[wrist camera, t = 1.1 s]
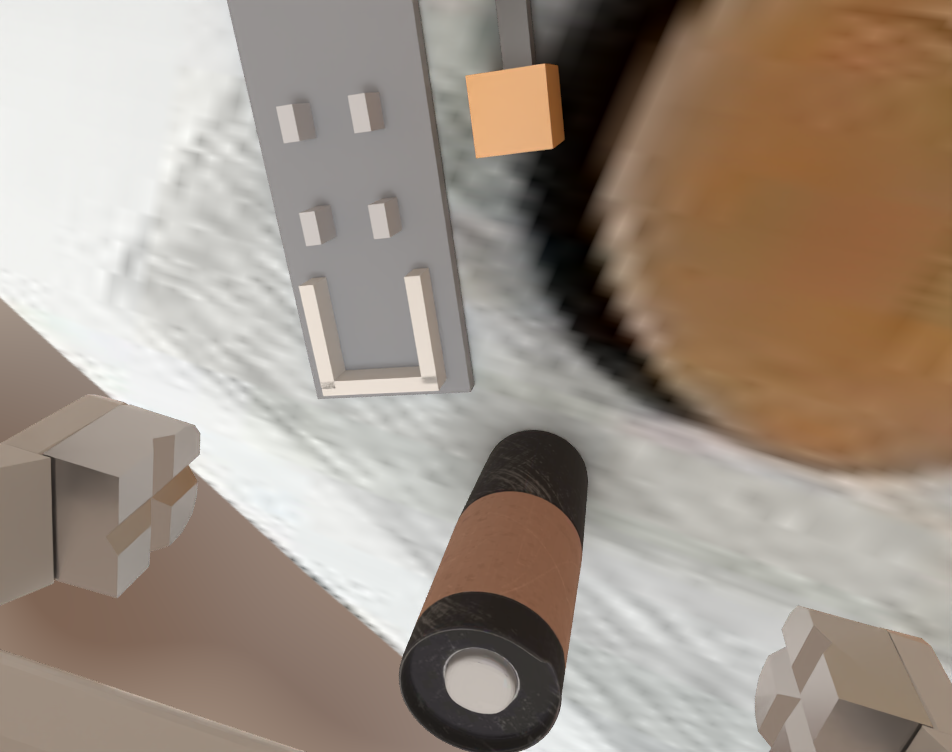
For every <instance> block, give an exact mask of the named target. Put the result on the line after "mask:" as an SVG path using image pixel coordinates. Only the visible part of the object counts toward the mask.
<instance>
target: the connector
mask: <svg viewBox="0 0 952 752" xmlns="http://www.w3.org/2000/svg"><path fill="white" fill-rule="evenodd" d="M495 1H496V10H497V19H498V27H499V36H500V45H501V54H502V63H503V70H499V71H493V72H486V73H480V74H473V75H467V76H466V84H467V91H468V99H469V107H470V114H471V122H472V130H473V137H474V145H475V153H476V158H483V157H491V156H499V155H507V154H514V153H522V152H530V151H538V150H546V149H553V148H554V147H556V146H557V145H558V144H560V143H561V142H562V141H564V140H565V137H564V126H563V115H562V104H561V92H560V81H559V70H558V65H552V64H545V63H544V64H538V65H537V64H536V54H535V44H534V34H533V24H532V14H531V4H530V0H495Z"/></svg>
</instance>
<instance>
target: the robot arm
mask: <svg viewBox="0 0 952 752" xmlns="http://www.w3.org/2000/svg"><path fill="white" fill-rule="evenodd" d="M199 455H200V432H199V431H198V429H197V428H196V426H195V425H193V424H190V423H186V422H183V421H180V420H177V419H174V418H171V417H168V416H165V415H161V414H158V413H155V412H152V411H149V410H146V409H143V408H140V407H136V406H133V405H128V404H126V403H124V402H121V401H117V400H114V399H110V398H107V397H103V396H100V395H89V394H87V395H85V396H83V397H82V398H80V399H78V400H76V401H74V402H73V403H71V404H69V405H67V406H66V407H64V408H62V409H60V410H59V411H57V412H55V413H54V414H51V415H50V416H48V417H46V418H45V419H43V420H41V421H39V422H37V423H36V424H34V425H32V426H30V427H28V428H27V429H25V430H23V431H22V432H20V433H18V434H16V435H14V436H13V437H11V438H9V439H7V440H6V441H4V442H2V443H1V442H0V606H1V605H3V604H5V603H8V602H10V601H13V600H15V599H18V598H20V597H22V596H25V595H27V594H29V593H32V592H34V591H37V590H39V589H42V588H44V587H46V586H49V585H51V584H53V583H54V580H56V581H60V582H63V583H67V584H70V585H74V586H77V587H80V588H84V589H87V590H91V591H94V592H98V593H101V594H104V595H108V596H111V597H115V598H118V597H119V596H120V595H121V594H122V593H123V592H124V591H125V590H126V589H127V587H129V586H130V585H131V584H132V583H133V582H134V581H135V580H136V579H137V577H139V576H140V575H141V574H142V573H143V572H144V571H145V570H146V569H147V568H148V567H149V559H150V552H152V551H155V550H158V549H161V548H164V547H167V546H170V545H171V544H172V542H173V541H174V540H175V539H176V538H177V537H178V536H179V535H180V534H181V533H182V531H183V529H184V528H185V525H186V524H187V522H188V520H189V518H190V516H191V515H192V512H193V508H194V505H195V501H196V497H197V485H198V482H197V480H196V478H195V476H194V474H193V473H192V471H191V469H190V467H189V464H190V463H191V462H192V461H193V460H194V459H195V458H196V457H197V456H199ZM782 633H783V637H784V640H785V644H786V647H784V648H782V649H780V650H778V651H776V652H775V653H773V654H771V655H769V656H768V657H767V660H766V662H765V664H764V666H763V668H762V671H761V673H760V675H759V679H758V684H757V689H756V694H755V717H756V722H757V728H758V732H759V733H760V734H761V735H762V736H763V738H764V739H765V740H766V741H767V743H768V744H769V745H770V746H771V747H772V748H771V750H770V752H952V684H951V682H950V680H949V678H948V676H947V674H946V673H945V671H944V669H943V667H942V665H941V663H940V661H939V660H938V658H937V656H936V654H935V652H934V650H933V649H932V647H931V646H930V645H929V644H928V643H927V642H925V641H924V640H923V639H922V638H918V637H915V636H911V635H907V634H903V633H899V632H895V631H892V630H888V629H884V628H878V627H874V626H871V625H867V624H863V623H860V622H856V621H853V620H849V619H845V618H842V617H838V616H835V615H831V614H827V613H824V612H820V611H816V610H813V609H809V608H806V607H802V606H797V607H796V608H795V609H794V610H793V611H792V612H791V613H790V614H789V616H788V618H787V620H786V622H785V624H784V626H783V627H782ZM0 752H305V751H302V750H299V749H296V748H293V747H290V746H287V745H284V744H280V743H278V742H275V741H272V740H269V739H266V738H263V737H260V736H256V735H254V734H251V733H248V732H245V731H242V730H239V729H236V728H233V727H230V726H227V725H224V724H221V723H218V722H215V721H212V720H209V719H206V718H203V717H200V716H197V715H194V714H191V713H188V712H186V711H182V710H179V709H177V708H174V707H170V706H167V705H164V704H162V703H159V702H156V701H153V700H149V699H147V698H144V697H141V696H138V695H135V694H132V693H129V692H126V691H123V690H120V689H117V688H114V687H111V686H108V685H105V684H102V683H99V682H96V681H93V680H90V679H87V678H84V677H81V676H79V675H76V674H72V673H69V672H66V671H63V670H61V669H58V668H55V667H52V666H49V665H46V664H43V663H40V662H37V661H34V660H31V659H28V658H25V657H22V656H19V655H16V654H13V653H10V652H7V651H4V650H1V649H0Z"/></svg>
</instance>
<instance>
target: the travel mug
mask: <svg viewBox="0 0 952 752" xmlns="http://www.w3.org/2000/svg"><path fill="white" fill-rule="evenodd" d="M587 486H588V478H587V471H586V467H585V464H584V462H583V460H582V458H581V456H580V455H579V453H578V452H577V451H576V449H575V448H574V447H573V446H572V445H570V444H569V443H568V442H567V441H565V440H564V439H562V438H560V437H558V436H556V435H554V434H551V433H548V432H543V431H523V432H519V433H515V434H513V435H511V436H509V437H507V438H505V439H504V440H503V441H501V442H500V443H499V444H498V445H497V446H496V447H495V448H494V450H493V451H492V453H491V454H490V456H489V458H488V460H487V462H486V464H485V466H484V468H483V470H482V472H481V474H480V476H479V478H478V480H477V482H476V485H475V487H474V489H473V491H472V493H471V495H470V497H469V499H468V501H467V503H466V505H465V507H464V509H463V511H462V513H461V515H460V517H459V519H458V522H457V524H456V526H455V529H454V531H453V534H452V536H451V539H450V541H449V543H448V546H447V548H446V551H445V553H444V556H443V558H442V561H441V563H440V566H439V568H438V571H437V573H436V575H435V578H434V580H433V583H432V585H431V588H430V590H429V593H428V595H427V598H426V600H425V603H424V605H423V608H422V610H421V612H420V615H419V617H418V620H417V622H416V625H415V627H414V630H413V632H412V635H411V637H410V640H409V642H408V644H407V647H406V649H405V652H404V654H403V658H402V661H401V665H400V671H399V685H400V690H401V694H402V697H403V699H404V702H405V704H406V705H407V707H408V709H409V711H410V712H411V713H412V715H413V716H414V717H415V719H417V721H418V722H419V723H420V724H421V725H422V726H423V727H424V728H425V729H426V730H427V731H429V732H430V733H431V734H433V735H434V736H435V737H437V738H439V739H440V740H442V741H444V742H446V743H448V744H450V745H452V746H454V747H457V748H460V749H462V750H466V751H469V752H519V751H522V750H525V749H527V748H529V747H531V746H533V745H535V744H536V743H538V742H539V741H540V740H542V739H543V738H544V737H545V736H546V735H547V734H548V733H549V731H550V730H551V728H552V727H553V725H554V723H555V721H556V719H557V717H558V714H559V711H560V707H561V700H562V696H561V695H562V689H563V682H564V675H565V668H566V662H567V655H568V648H569V642H570V635H571V628H572V622H573V615H574V608H575V602H576V595H577V588H578V581H579V575H580V568H581V561H582V551H583V538H584V526H585V514H586V501H587Z"/></svg>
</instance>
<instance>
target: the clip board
mask: <svg viewBox="0 0 952 752" xmlns="http://www.w3.org/2000/svg"><path fill="white" fill-rule="evenodd" d="M227 3H228V7H229V11H230V16H231V20H232V24H233V29H234V33H235V38H236V42H237V46H238V51H239V55H240V60H241V64H242V68H243V73H244V77H245V81H246V86H247V90H248V95H249V99H250V103H251V108H252V112H253V116H254V121H255V125H256V130H257V134H258V138H259V143H260V147H261V151H262V156H263V160H264V165H265V169H266V173H267V178H268V182H269V187H270V191H271V195H272V200H273V204H274V208H275V213H276V217H277V222H278V226H279V230H280V235H281V239H282V243H283V248H284V252H285V257H286V261H287V265H288V270H289V274H290V279H291V283H292V287H293V292H294V296H295V300H296V305H297V309H298V314H299V318H300V322H301V327H302V331H303V335H304V340H305V344H306V349H307V353H308V357H309V362H310V366H311V371H312V375H313V379H314V384H315V388H316V392H317V397H318V399H328V398H350V397H372V396H394V395H416V394H438V393H460V392H471V390H472V389H473V387H474V379H473V372H472V365H471V358H470V352H469V345H468V338H467V331H466V324H465V318H464V311H463V304H462V297H461V290H460V283H459V277H458V270H457V263H456V256H455V249H454V243H453V236H452V229H451V222H450V215H449V208H448V202H447V195H446V188H445V181H444V174H443V168H442V161H441V154H440V147H439V140H438V133H437V127H436V120H435V113H434V106H433V99H432V93H431V86H430V79H429V72H428V65H427V58H426V52H425V45H424V38H423V31H422V24H421V18H420V11H419V4H418V0H227Z"/></svg>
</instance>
